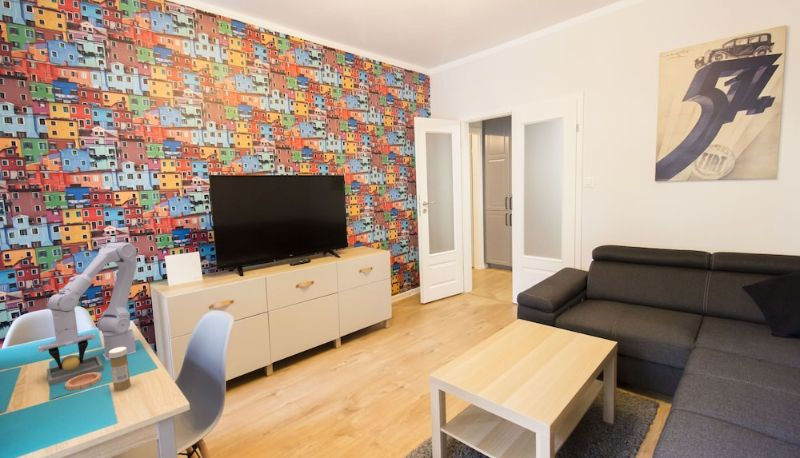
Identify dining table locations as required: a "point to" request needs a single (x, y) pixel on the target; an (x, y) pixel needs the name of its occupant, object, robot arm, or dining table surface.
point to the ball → (70, 362)
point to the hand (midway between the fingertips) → (70, 365)
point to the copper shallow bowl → (83, 381)
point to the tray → (74, 370)
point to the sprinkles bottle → (119, 368)
